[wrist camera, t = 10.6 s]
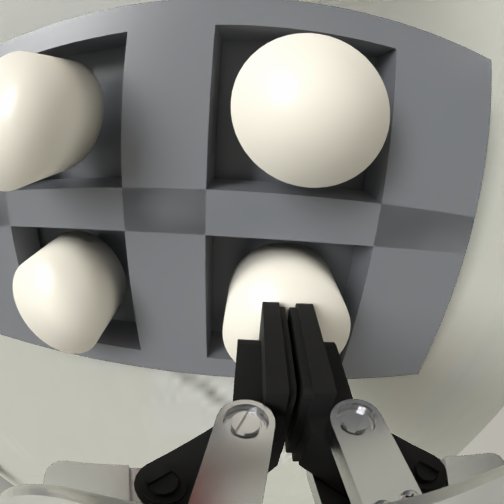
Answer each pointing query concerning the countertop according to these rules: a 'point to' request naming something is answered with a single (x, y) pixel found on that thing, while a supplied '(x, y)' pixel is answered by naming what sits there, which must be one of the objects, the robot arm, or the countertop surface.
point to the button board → (254, 182)
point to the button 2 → (70, 291)
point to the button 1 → (45, 116)
